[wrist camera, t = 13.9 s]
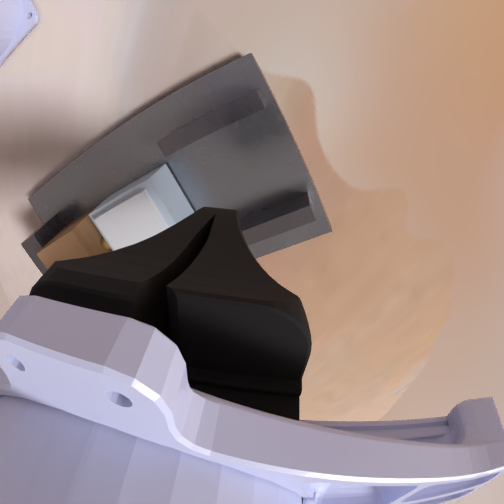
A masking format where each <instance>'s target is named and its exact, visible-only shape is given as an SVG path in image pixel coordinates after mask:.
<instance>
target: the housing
mask: <svg viewBox="0 0 504 504" xmlns="http://www.w3.org/2000/svg"><path fill="white" fill-rule="evenodd" d="M100 204H101V203H100ZM100 204H99V205H100ZM99 205H97V206H99ZM97 206H96V207H97ZM96 207H94V208H92V209H91V210H89V211H88V212H86V213H85V214H83V215H82V216H80V217H79V218H77V219H76V220H74V221H73V222H71V223H70V224H68V225H67V226H65V227H64V228H63V229H62V230H61V231H60V232H59V233H58V234H56V235H55V236H54V237H53V238H52V239H51V240H50V241H49V242H48V243H47V244H46V245H45V246H44V247H43V248H42V249H41V250H40V251H39V252H38V253H37V256H38V257H39V258H40V260H41V261H42V263H43V264H44V265H45V267H46V268H47V269H49V268H50V266H51V265H52V264H53V263H54V262H55V261H61V260H69V259H77V258H83V257H89V256H94V255H99V254H103V253H107V252H111V251H113V250H112V249H111V247H110V246H109V245H108V243H107V242H106V240H105V239H104V237H103V236H102V234H101V233H100V231H99V230H98V228H97V227H96V225H95V224H94V222H93V221H92V219H91V218H90V216H89V214H90V213H91V212H92V211H93V210H94V209H95V208H96Z"/></svg>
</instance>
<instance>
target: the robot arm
mask: <svg viewBox="0 0 504 504" xmlns="http://www.w3.org/2000/svg"><path fill="white" fill-rule="evenodd" d="M31 14H32V17H31ZM38 21H39V15H38V13H37V10H36V8H35V6H34V4H33V1H32V0H0V66H1V64H2V63H3V62H4V61H5V59H6V58H7V57H8V56H9V54H10V53H11V52H12V51H13V50H14V49H15V47H16V46H17V45H18V44H19V43H20V42H21V41H22V39H23V38H24V37H25V36H26V35H27V34H28V33H29V32H30V31H31V30H32V29H33V28H34V27H35V26H36V25H37V23H38ZM239 220H240V213H239V212H238V210H232V209H223V208H214V207H205V206H204V207H202V208H201V209H199V210H197V211H196V212H194V213H192V214H191V215H189V216H188V217H186V218H184V219H183V220H181V221H180V222H178V223H176V224H175V225H173V226H171V227H169V228H167V229H165V230H164V231H162V232H160V233H158V234H156V235H154V236H152V237H150V238H148V239H145V240H143V241H140V242H138V243H135V244H133V245H130V246H127V247H123V248H120V249H117V250H114V251H111V252H107V253H103V254H99V255H94V256H89V257H83V258H77V259H69V260H61V261H55V262H54V263H53V264H52V265H51V266H50V268H49V269H48V270H47V271H46V272H45V273H44V274H43V276H42V277H41V278H40V279H39V280H38V281H37V283H36V284H35V285H34V286H33V287H32V289H31V292H30V295H29V296H19V298H18V299H17V300H16V301H15V303H14V304H13V305H12V306H11V307H10V309H9V310H8V311H7V312H6V314H5V315H4V316H3V318H2V319H1V320H0V504H441V503H445V502H448V501H452V500H455V499H459V498H462V497H464V496H466V495H468V494H470V493H471V492H473V491H475V490H476V489H478V488H480V487H481V486H483V485H485V484H486V483H488V482H489V481H491V480H493V479H494V478H496V477H497V476H499V475H500V474H502V473H503V472H504V429H503V426H502V422H501V420H500V417H499V414H498V411H497V408H496V405H495V403H494V400H493V398H492V397H486V398H478V399H470V400H466V401H463V402H461V403H459V404H458V405H456V406H455V407H454V408H453V409H452V410H451V411H450V413H449V414H448V416H445V417H436V418H425V419H412V420H398V421H397V420H396V421H361V422H347V421H312V420H299V396H300V395H301V391H302V376H303V373H304V371H305V368H306V365H307V362H308V359H309V356H310V353H311V345H312V343H311V334H310V329H309V324H308V320H307V317H306V314H305V311H304V308H303V305H302V302H301V300H300V298H299V297H298V296H296V295H295V294H293V293H292V292H290V291H289V290H287V289H285V288H284V287H282V286H281V285H280V284H278V283H277V282H276V281H275V280H274V279H272V278H271V277H270V276H269V275H268V274H267V273H266V272H265V271H264V269H263V268H262V267H261V266H260V265H259V263H258V262H257V261H256V259H255V258H254V256H253V254H252V253H251V251H250V249H249V247H248V245H247V243H246V241H245V238H244V236H243V233H242V230H241V227H240V222H239Z"/></svg>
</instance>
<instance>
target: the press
mask: <svg viewBox="0 0 504 504" xmlns="http://www.w3.org/2000/svg"><path fill="white" fill-rule="evenodd" d="M164 164H166V165H167V167H168V168H169V170H170V172H171V173H172V175H173V177H174V179H175V180H176V182H177V184H178V185H179V187H180V189H181V191H182V192H183V194H184V196H185V197H186V199H187V201H188V202H189V204H190V206H191V208H192V209H193V211H194V212H196V211H197V210H199V209H201V208H202V207H204V206H205V207H214V208H223V209H232V210H238V212H239V213H240V220H239V222H240V227H241V230H242V233H243V236H244V238H245V241H246V243H247V245H248V247H249V249H250V251H251V253H252V254H253V256H254V258H255V259H256V258H258V257H261V256H264V255H267V254H270V253H272V252H275V251H278V250H281V249H284V248H287V247H289V246H292V245H295V244H298V243H301V242H303V241H306V240H309V239H312V238H315V237H317V236H320V235H323V234H326V233H329V232H331V231H332V228H331V225H330V222H329V220H328V217H327V215H326V212H325V210H324V207H323V205H322V202H321V200H320V197H319V195H318V192H317V190H316V188H315V185H314V183H313V181H312V178H311V176H310V173H309V171H308V169H307V167H306V164H305V162H304V160H303V157H302V155H301V153H300V151H299V148H298V146H297V144H296V142H295V140H294V137H293V135H292V133H291V131H290V129H289V127H288V124H287V122H286V120H285V118H284V116H283V114H282V112H281V110H280V108H279V105H278V103H277V101H276V99H275V97H274V95H273V93H272V91H271V89H270V87H269V85H268V83H267V81H266V79H265V77H264V75H263V73H262V71H261V69H260V67H259V66H258V64H257V62H256V60H255V58H254V56H253V54H252V53H250V54H247V55H245V56H243V57H241V58H239V59H237V60H234V61H232V62H230V63H228V64H226V65H224V66H222V67H220V68H218V69H216V70H214V71H212V72H210V73H208V74H206V75H204V76H202V77H201V78H199V79H197V80H195V81H193V82H191V83H189V84H188V85H186V86H184V87H182V88H180V89H179V90H177V91H175V92H173V93H172V94H170V95H168V96H167V97H165V98H163V99H162V100H160V101H158V102H157V103H155V104H153V105H152V106H150V107H148V108H147V109H145V110H144V111H142V112H141V113H139V114H137V115H136V116H134V117H133V118H131V119H130V120H128V121H127V122H125V123H124V124H122V125H121V126H119V127H118V128H116V129H115V130H114V131H112V132H111V133H109V134H108V135H106V136H105V137H104V138H102V139H101V140H100V141H98V142H97V143H95V144H94V145H93V146H91V147H90V148H89V149H87V150H86V151H85V152H83V153H82V154H81V155H80V156H78V157H77V158H76V159H74V160H73V161H72V162H71V163H69V164H68V165H67V166H66V167H64V168H63V169H62V170H61V171H60V172H58V173H57V174H56V175H55V176H54V177H52V178H51V179H50V180H49V181H48V182H47V183H45V184H44V185H43V186H42V187H41V188H40V189H39V190H37V191H36V192H35V193H34V194H33V195H32V196H31V197H30V198H29V199H28V200H29V201H30V203H31V205H32V206H33V208H34V210H35V211H36V213H37V214H38V216H39V217H40V219H41V220H42V222H43V225H41V226H40V227H39V228H38V229H37V230H36V231H35V232H34V233H32V234H31V235H30V236H29V237H28V238H27V239H26V240H25V241H24V242H23V243H21V245H22V246H23V248H24V249H25V251H26V252H27V253H28V255H29V256H30V258H31V259H32V260H33V262H34V263H35V265H36V266H37V267H38V269H39V270H40V271H41V273H42V274H44V273H45V272H46V271H47V270H48V269H47V268H46V267H45V265H44V264H43V263H42V261H41V260H40V258H39V257H38V256H37V253H38V252H39V251H40V250H41V249H42V248H43V247H44V246H45V245H46V244H47V243H48V242H49V241H50V240H51V239H52V238H53V237H54V236H55V235H56V234H58V233H59V232H60V231H61V230H62V229H63V228H64V227H65V226H67V225H68V224H70V223H71V222H73V221H74V220H76V219H77V218H79V217H80V216H82V215H83V214H85V213H86V212H88V211H89V210H91V209H92V208H94V207H96V206H97V205H99V204H100V203H102V202H103V201H104V200H105V199H106V198H107V197H109V196H110V195H112V194H114V193H115V192H117V191H118V190H120V189H122V188H123V187H125V186H127V185H129V184H130V183H132V182H134V181H135V180H137V179H139V178H141V177H142V176H144V175H146V174H148V173H149V172H151V171H153V170H155V169H156V168H158V167H160V166H162V165H164Z"/></svg>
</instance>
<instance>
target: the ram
mask: <svg viewBox="0 0 504 504" xmlns="http://www.w3.org/2000/svg"><path fill="white" fill-rule="evenodd" d="M192 213H194V211H193V209H192V208H191V206H190V204H189V202H188V201H187V199H186V197H185V196H184V194H183V192H182V191H181V189H180V187H179V185H178V184H177V182H176V180H175V179H174V177H173V175H172V173H171V172H170V170H169V168H168V167H167V165H166V164H164V165H162V166H160V167H158V168H156V169H155V170H153V171H151V172H149V173H148V174H146V175H144V176H142V177H141V178H139V179H137V180H135V181H134V182H132V183H130V184H129V185H127V186H125V187H123V188H122V189H120V190H118V191H117V192H115V193H114V194H112V195H110V196H109V197H107V198H106V199H105V200H104V201H103V202H102V203H101V204H100V205H99V206H97V207H96V208H95V209H94V210H93V211H92V212H91V213H90V214H89V216H90V218H91V219H92V221H93V222H94V224H95V225H96V227H97V228H98V230H99V231H100V233H101V234H102V236H103V237H104V239H105V240H106V242H107V243H108V245H109V246H110V247H111V249H112V250H113V251H114V250H117V249H120V248H123V247H127V246H130V245H133V244H135V243H138V242H140V241H143V240H145V239H148V238H150V237H152V236H154V235H156V234H158V233H160V232H162V231H164V230H165V229H167V228H169V227H171V226H173V225H175V224H176V223H178V222H180V221H181V220H183V219H184V218H186V217H188V216H189V215H191V214H192Z"/></svg>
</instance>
